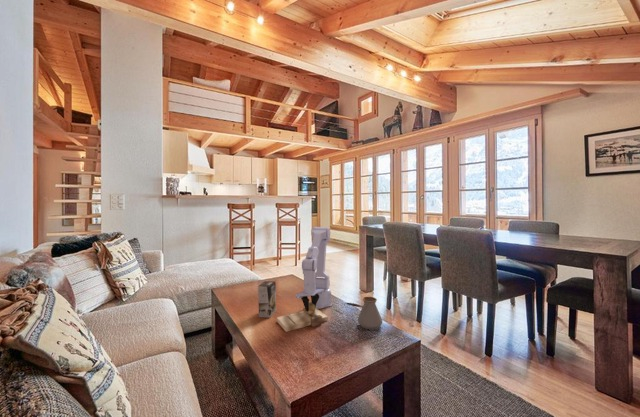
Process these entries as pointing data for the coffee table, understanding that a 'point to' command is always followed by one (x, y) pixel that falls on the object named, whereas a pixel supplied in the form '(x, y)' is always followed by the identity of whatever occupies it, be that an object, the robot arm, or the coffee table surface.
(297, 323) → the pine board
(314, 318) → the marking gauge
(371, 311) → the coffee pot
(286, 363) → the coffee table surface
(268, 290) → the coffee box
